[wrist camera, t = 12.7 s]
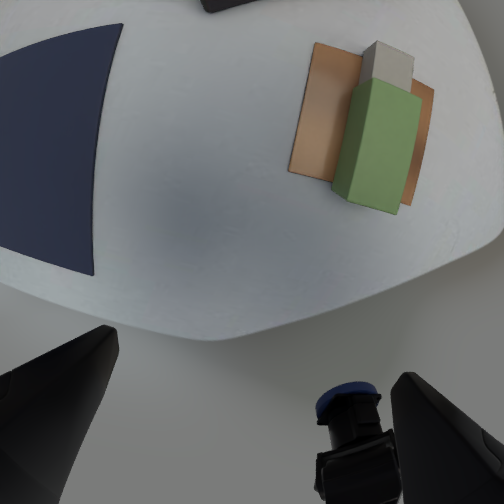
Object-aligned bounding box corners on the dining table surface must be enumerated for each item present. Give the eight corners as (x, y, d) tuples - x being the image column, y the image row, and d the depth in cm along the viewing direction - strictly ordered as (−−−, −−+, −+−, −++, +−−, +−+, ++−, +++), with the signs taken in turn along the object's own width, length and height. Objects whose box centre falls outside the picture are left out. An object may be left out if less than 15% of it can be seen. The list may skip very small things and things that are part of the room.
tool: (374, 202, 17) (397, 215, 14) (330, 190, 17) (346, 201, 14) (401, 67, 13) (427, 55, 10) (359, 49, 13) (379, 32, 10)
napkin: (94, 274, 20) (92, 276, 20) (-31, 232, 19) (-33, 233, 19) (123, 24, 13) (121, 22, 12) (-23, 69, 12) (-24, 69, 12)
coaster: (408, 204, 17) (410, 206, 17) (287, 171, 17) (288, 171, 16) (432, 90, 14) (434, 89, 13) (314, 43, 13) (315, 42, 13)
